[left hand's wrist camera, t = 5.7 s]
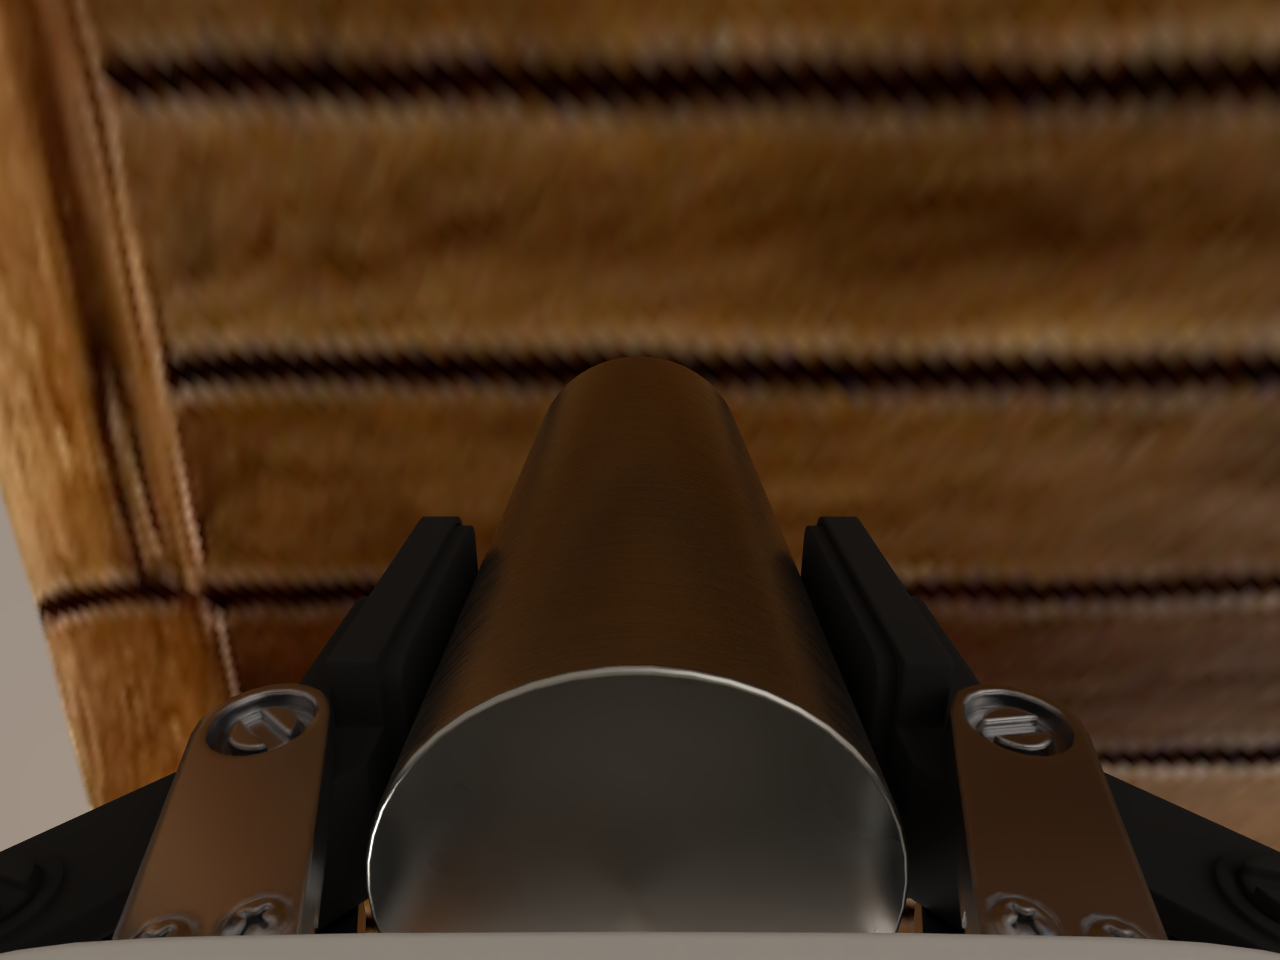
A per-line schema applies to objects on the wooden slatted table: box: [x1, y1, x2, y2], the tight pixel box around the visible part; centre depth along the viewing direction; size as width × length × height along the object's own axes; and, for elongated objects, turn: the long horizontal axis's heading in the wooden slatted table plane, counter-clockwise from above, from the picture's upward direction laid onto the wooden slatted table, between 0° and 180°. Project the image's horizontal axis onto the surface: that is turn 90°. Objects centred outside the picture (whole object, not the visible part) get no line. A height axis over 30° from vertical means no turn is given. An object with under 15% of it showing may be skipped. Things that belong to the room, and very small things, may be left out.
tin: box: [366, 357, 909, 933], centre depth 13 cm, size 5×5×12 cm
